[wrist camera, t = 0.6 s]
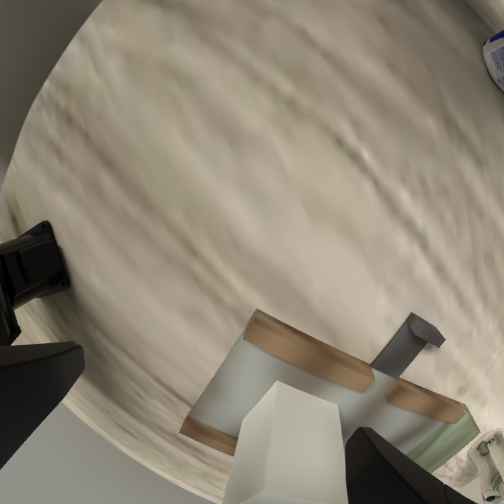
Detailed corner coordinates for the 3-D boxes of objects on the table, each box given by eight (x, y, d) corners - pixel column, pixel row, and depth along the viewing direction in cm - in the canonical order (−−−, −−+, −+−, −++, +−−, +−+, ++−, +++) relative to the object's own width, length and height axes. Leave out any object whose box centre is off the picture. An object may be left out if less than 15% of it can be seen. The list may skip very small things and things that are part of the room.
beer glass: (472, 438, 21) (504, 518, 7) (509, 418, 20) (546, 487, 5) (460, 462, 23) (484, 534, 8) (495, 444, 21) (523, 508, 7)
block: (242, 419, 22) (219, 512, 12) (277, 380, 20) (263, 490, 11) (298, 440, 22) (294, 528, 12) (337, 405, 20) (348, 505, 11)
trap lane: (171, 439, 25) (157, 468, 21) (295, 244, 18) (296, 266, 14) (348, 494, 26) (350, 519, 21) (497, 366, 18) (517, 392, 14)
